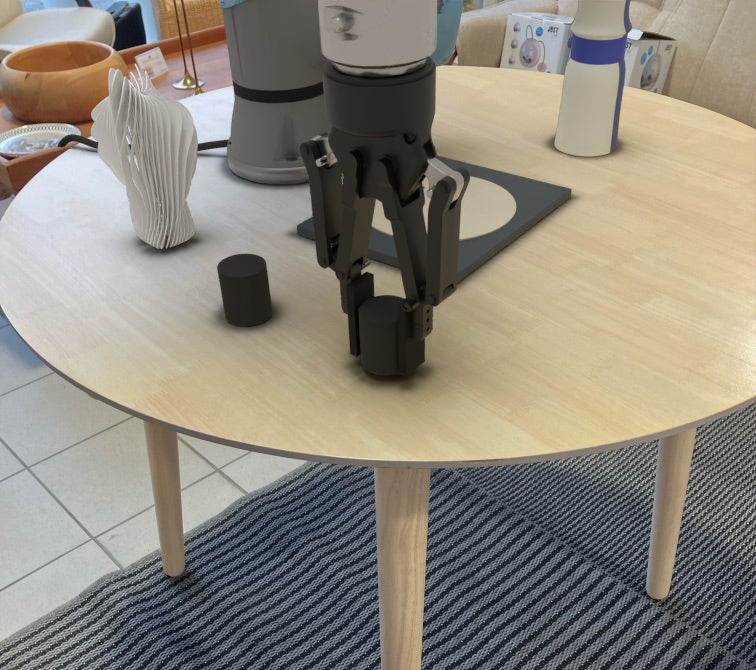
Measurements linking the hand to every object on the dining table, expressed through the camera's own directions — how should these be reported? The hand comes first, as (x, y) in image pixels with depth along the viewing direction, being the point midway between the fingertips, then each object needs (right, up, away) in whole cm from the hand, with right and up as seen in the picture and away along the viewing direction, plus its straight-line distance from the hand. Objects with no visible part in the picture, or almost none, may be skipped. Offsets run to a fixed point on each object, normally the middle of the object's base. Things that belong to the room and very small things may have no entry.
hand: (387, 357), depth 72 cm
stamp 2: (0, 0, 0) cm, 0 cm away
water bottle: (+25, +33, +36) cm, 54 cm away
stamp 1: (-13, +5, +8) cm, 16 cm away
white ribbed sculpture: (-24, +16, +19) cm, 34 cm away
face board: (+6, +19, +22) cm, 30 cm away
